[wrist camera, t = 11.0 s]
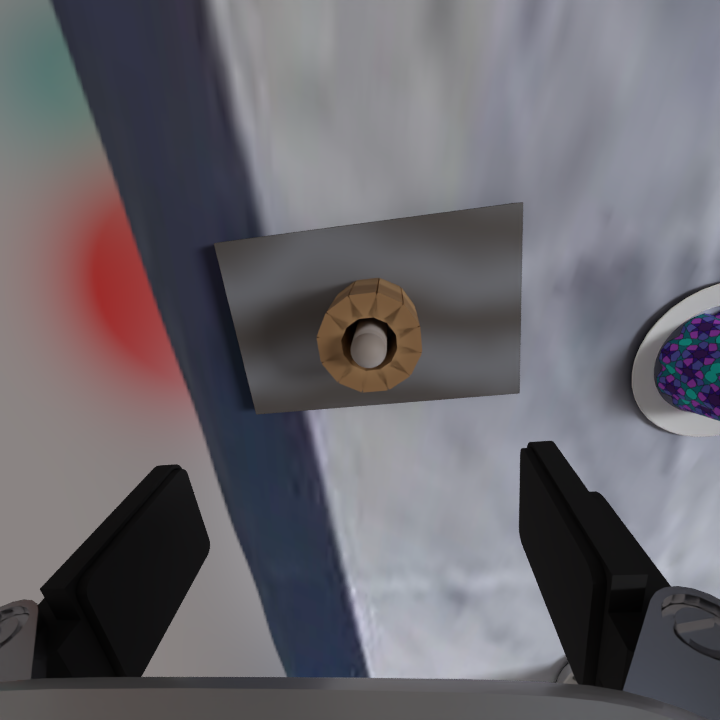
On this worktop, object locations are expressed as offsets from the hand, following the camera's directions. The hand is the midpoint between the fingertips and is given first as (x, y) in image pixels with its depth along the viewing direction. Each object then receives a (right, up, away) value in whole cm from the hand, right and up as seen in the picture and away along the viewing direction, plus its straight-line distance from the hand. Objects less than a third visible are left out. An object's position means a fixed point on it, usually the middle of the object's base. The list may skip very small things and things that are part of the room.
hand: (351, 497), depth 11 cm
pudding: (+26, +4, +18) cm, 32 cm away
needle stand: (+1, +7, +18) cm, 19 cm away
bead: (+1, +7, +16) cm, 18 cm away
